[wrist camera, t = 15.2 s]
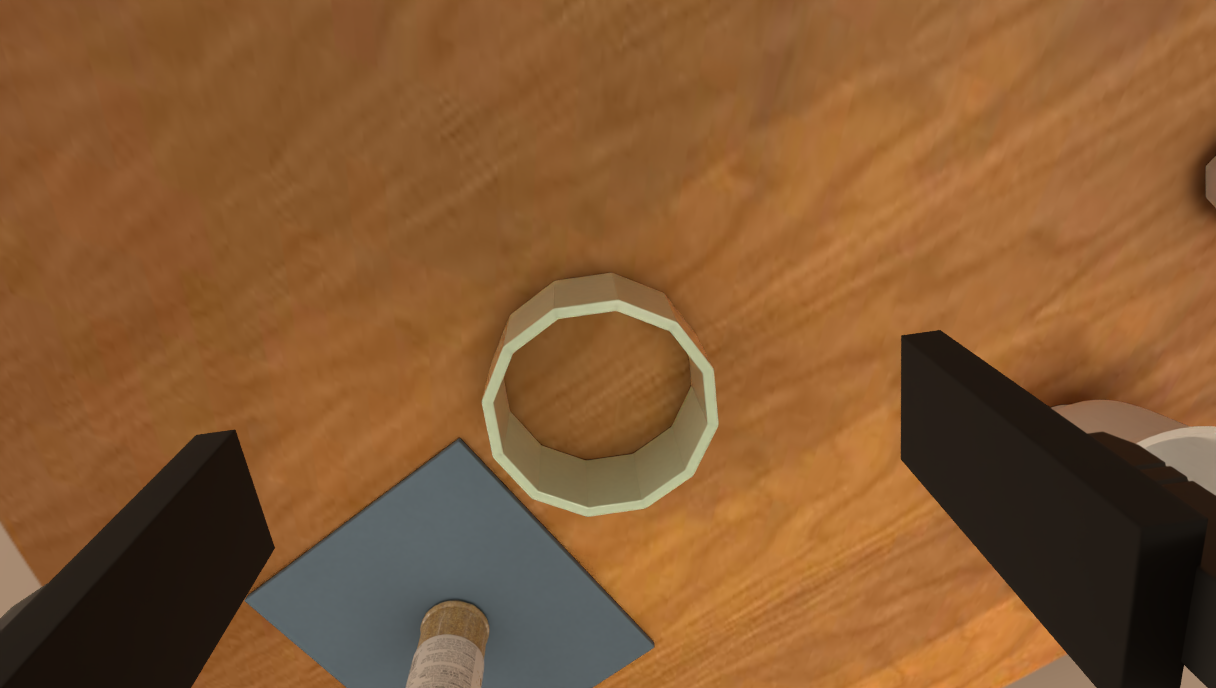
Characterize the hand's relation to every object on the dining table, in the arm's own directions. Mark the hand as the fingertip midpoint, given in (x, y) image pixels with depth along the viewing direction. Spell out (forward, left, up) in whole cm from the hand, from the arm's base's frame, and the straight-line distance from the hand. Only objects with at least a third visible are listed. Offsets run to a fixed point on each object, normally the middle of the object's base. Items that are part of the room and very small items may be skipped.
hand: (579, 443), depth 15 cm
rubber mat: (+17, -23, -29) cm, 40 cm away
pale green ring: (+9, -5, -29) cm, 30 cm away
